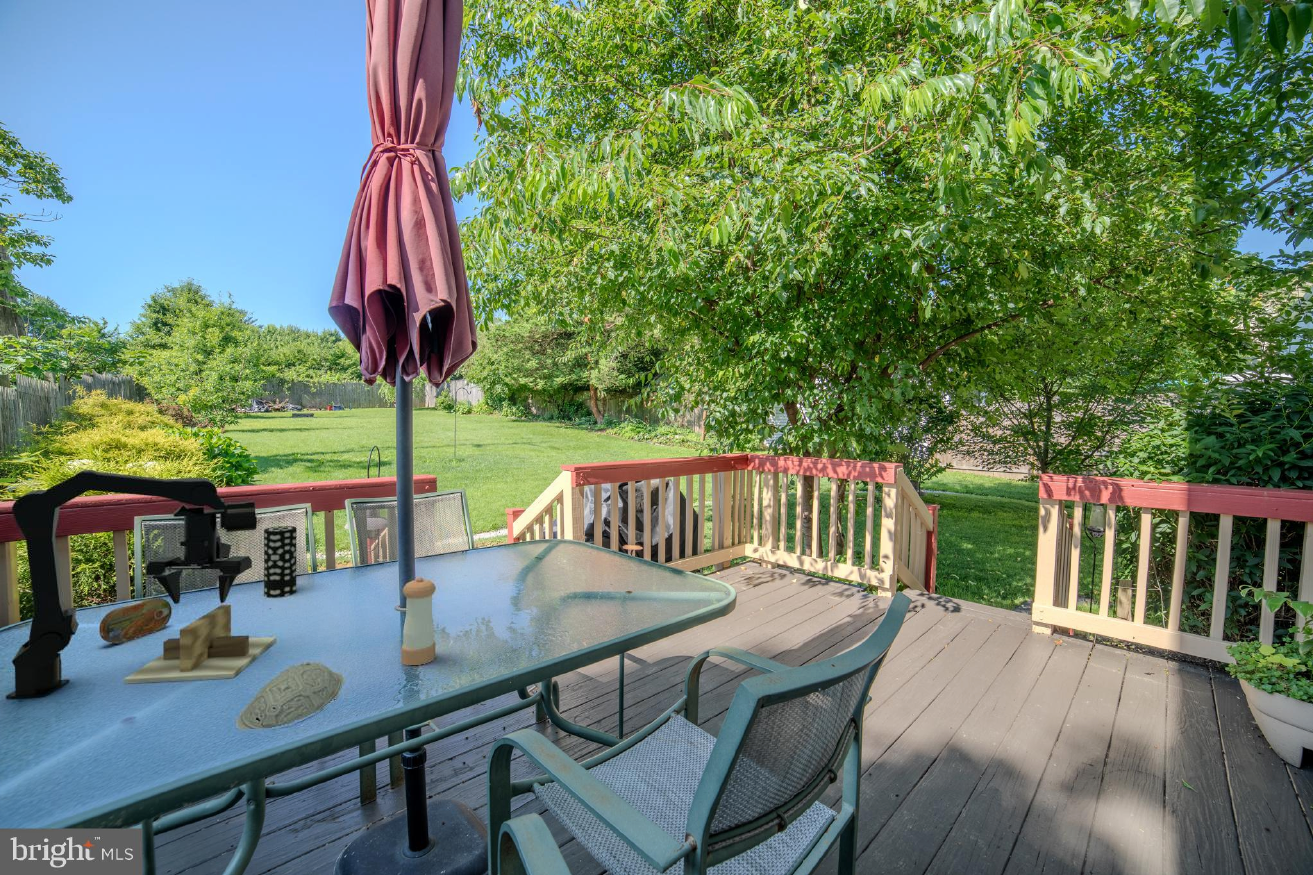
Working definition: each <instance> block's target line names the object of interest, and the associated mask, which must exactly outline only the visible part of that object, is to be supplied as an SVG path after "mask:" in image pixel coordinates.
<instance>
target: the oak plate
mask: <svg viewBox="0 0 1313 875" xmlns="http://www.w3.org/2000/svg"><path fill="white" fill-rule="evenodd" d="M222 636H232V604H220V605H219V606H217V607H215V608H214V609H212V610H210V611H209V612H207V613H206V614H204V615H203V616H201V617H199V618H197V619H196V620H194V621H193V622H190V623H189V624H187V625H185V626H184V627H182V628H181V629H179V638H180V672H189V671H192V670H193V669H195V668H196V667H197V666H199V665H200V664H201V663H203V662H204V661H205V660H207V659H208V647H210V646H213V640H214V639H215V638H217V637H222Z"/></svg>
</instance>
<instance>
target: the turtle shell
mask: <svg viewBox="0 0 1313 875" xmlns="http://www.w3.org/2000/svg"><path fill="white" fill-rule="evenodd" d="M344 683H345V677H344V676H343V675H342V674H340V673H339V672H336V671H333V670H331V669H330V667H328V666H326V665H324V664H323V663H320V662H309V661H303V662H302V663H300V664H297V665H291V666H289V667H287V668H286V669H284V670H283V671H281V672H280V673H279V674H277V675H276V676H274V678H271V679H270V680H269V681H268V682H266V683H265V685H263V687H262V688H261V689H260V690H259V691H258V692H257V693H256V695H255V696H254V697H253V699H252V700H250V702H248V704H247V705H246V706H245V707H244V709H243V710H242V711H241V712H240V715H239V716H238V717H237V718H236V722H235V723H236V724H235V725H236V727H237V728H238V729H239V730H240V729H241V731H243V730H244V729H264V728H266V729H267V728H272V727H276V726H281V725H285V724H290V723H292V722H294V721H295V720H300V719H303V718H304V717H308V715H311V714H313V713H316V712H317V711H319V710H321V709H322V708H323V707H324V706H326V705H327V704H328V703H330V704H332V703H331V702H330V701H333V700H334V699H335V700H336V699H337V698H338V697H339V696H340V695H339V693H340V691H341V690H342V688H341V687H343V684H344ZM340 686H341V687H340ZM332 699H333V700H332ZM335 700H334V701H335ZM327 706H328V705H327ZM327 706H326V707H327ZM321 711H322V710H321ZM257 718H258V720H257ZM244 732H248V730H246V731H245V730H244Z"/></svg>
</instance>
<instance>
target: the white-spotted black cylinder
mask: <svg viewBox="0 0 1313 875" xmlns="http://www.w3.org/2000/svg"><path fill="white" fill-rule="evenodd" d="M297 529H298V528H297V526H292V525H291V526H290V525H283V526H282V525H280V526H272V527H267V528H264V530H263V556H264V557H263V596H264V597H265V598H270V599H272V598H274V599H275V598H282V597H288V596H289V597H290V596H291V595H294V594H295V593H297V535H298V534H297V531H298V530H297Z"/></svg>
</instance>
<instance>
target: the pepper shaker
mask: <svg viewBox="0 0 1313 875" xmlns="http://www.w3.org/2000/svg"><path fill="white" fill-rule="evenodd" d="M436 589H437V587H436V585H435V583H434V582H433V581H432V580H429V579H424V578H423V577H419V576H418V577H417V578H416V579H414V580H411V581H409V582H407V583H406V584H405V585H404V587H403V589H402V593H403V595H404V597H406V601H405V602H406V604H405V605H406V606H405V608H406V609H405V611H406V614H405V620H404V626H403V630H402V634H403V635H402V638H403V643H402V646H401V660H400V661H401V663H402V664H403V665H404V666H408V665H419V666H422V665H421V664H424V663H427V664H429V663H428V662H429V661H432V660H433V661H435V659H436V645H437V644H436V642H435V624H434V618H433V595H434V594H435V592H436ZM434 658H435V659H434ZM433 661H432V662H433ZM424 665H425V664H424Z"/></svg>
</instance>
